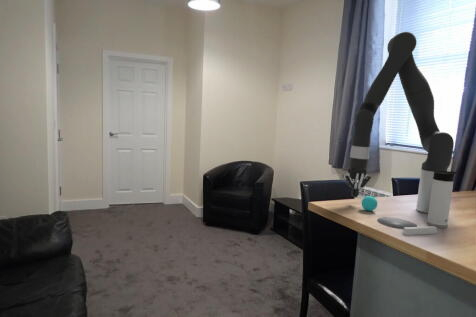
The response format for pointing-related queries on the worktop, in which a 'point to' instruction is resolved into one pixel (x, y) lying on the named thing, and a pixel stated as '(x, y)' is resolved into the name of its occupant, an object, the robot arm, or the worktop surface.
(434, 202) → the travel mug
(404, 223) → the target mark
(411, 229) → the wall
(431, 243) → the worktop surface
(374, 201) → the ball
